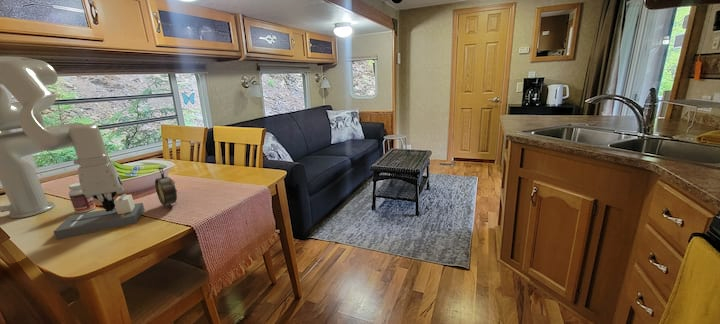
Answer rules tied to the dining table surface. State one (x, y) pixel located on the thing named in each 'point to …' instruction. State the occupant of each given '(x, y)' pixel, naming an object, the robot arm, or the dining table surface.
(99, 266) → the dining table surface
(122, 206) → the fader knob
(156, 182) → the alarm clock
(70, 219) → the fader console
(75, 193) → the pill bottle
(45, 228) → the dining table surface
